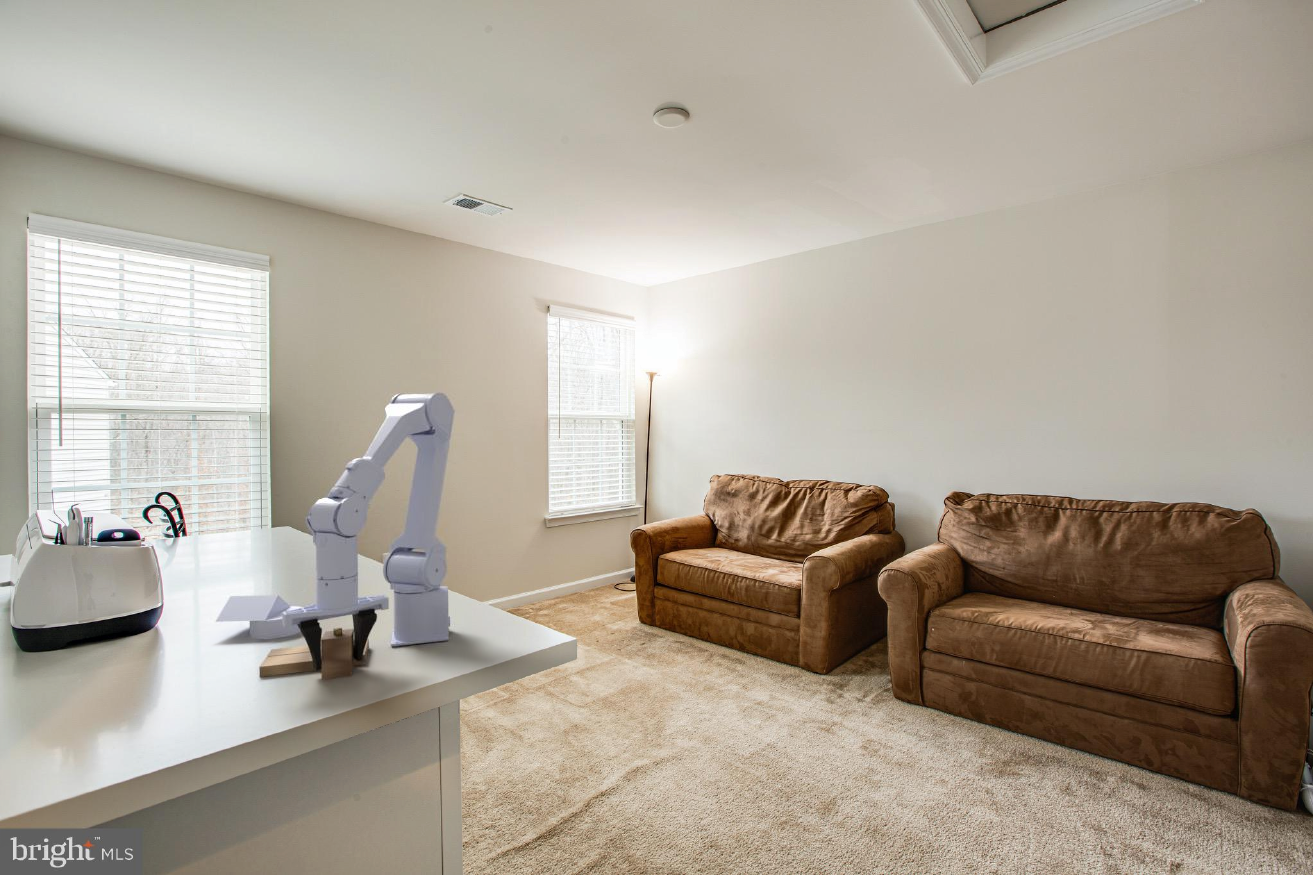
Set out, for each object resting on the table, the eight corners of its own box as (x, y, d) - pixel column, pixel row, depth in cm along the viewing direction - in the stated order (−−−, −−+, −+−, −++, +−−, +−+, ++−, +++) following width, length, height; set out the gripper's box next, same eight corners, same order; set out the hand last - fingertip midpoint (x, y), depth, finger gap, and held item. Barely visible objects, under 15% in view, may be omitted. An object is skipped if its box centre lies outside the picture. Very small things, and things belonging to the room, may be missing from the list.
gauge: (357, 655, 103) (356, 614, 103) (351, 675, 95) (350, 631, 95) (330, 658, 102) (329, 617, 102) (321, 679, 93) (321, 634, 93)
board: (368, 647, 107) (368, 638, 107) (364, 663, 100) (364, 654, 100) (271, 658, 102) (271, 649, 102) (259, 676, 94) (259, 666, 94)
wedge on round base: (215, 640, 111) (291, 638, 112) (215, 602, 111) (290, 601, 112) (245, 624, 120) (314, 622, 121) (244, 589, 120) (314, 588, 121)
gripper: (379, 564, 104) (379, 645, 104) (278, 578, 94) (279, 667, 94) (392, 572, 98) (393, 657, 98) (287, 587, 89) (288, 682, 89)
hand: (338, 663), depth 96 cm, fingers closed on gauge, 5 cm apart
